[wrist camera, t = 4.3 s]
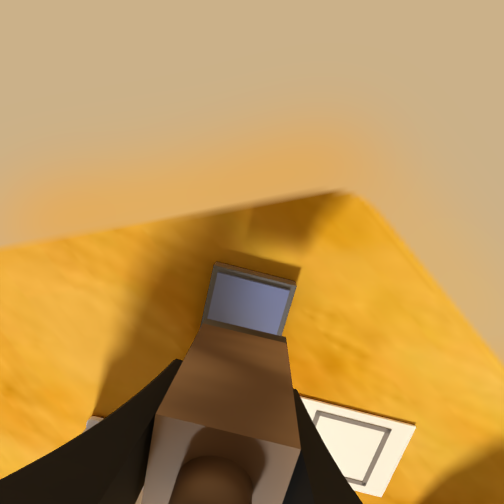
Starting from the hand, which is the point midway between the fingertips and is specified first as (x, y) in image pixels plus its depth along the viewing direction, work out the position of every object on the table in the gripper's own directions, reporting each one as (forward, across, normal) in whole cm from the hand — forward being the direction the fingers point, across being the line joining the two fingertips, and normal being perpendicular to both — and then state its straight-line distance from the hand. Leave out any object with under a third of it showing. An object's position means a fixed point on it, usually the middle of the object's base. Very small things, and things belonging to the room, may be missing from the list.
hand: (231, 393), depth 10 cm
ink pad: (+8, 0, 0) cm, 8 cm away
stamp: (+2, 0, 0) cm, 2 cm away
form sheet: (+8, -11, +10) cm, 17 cm away
